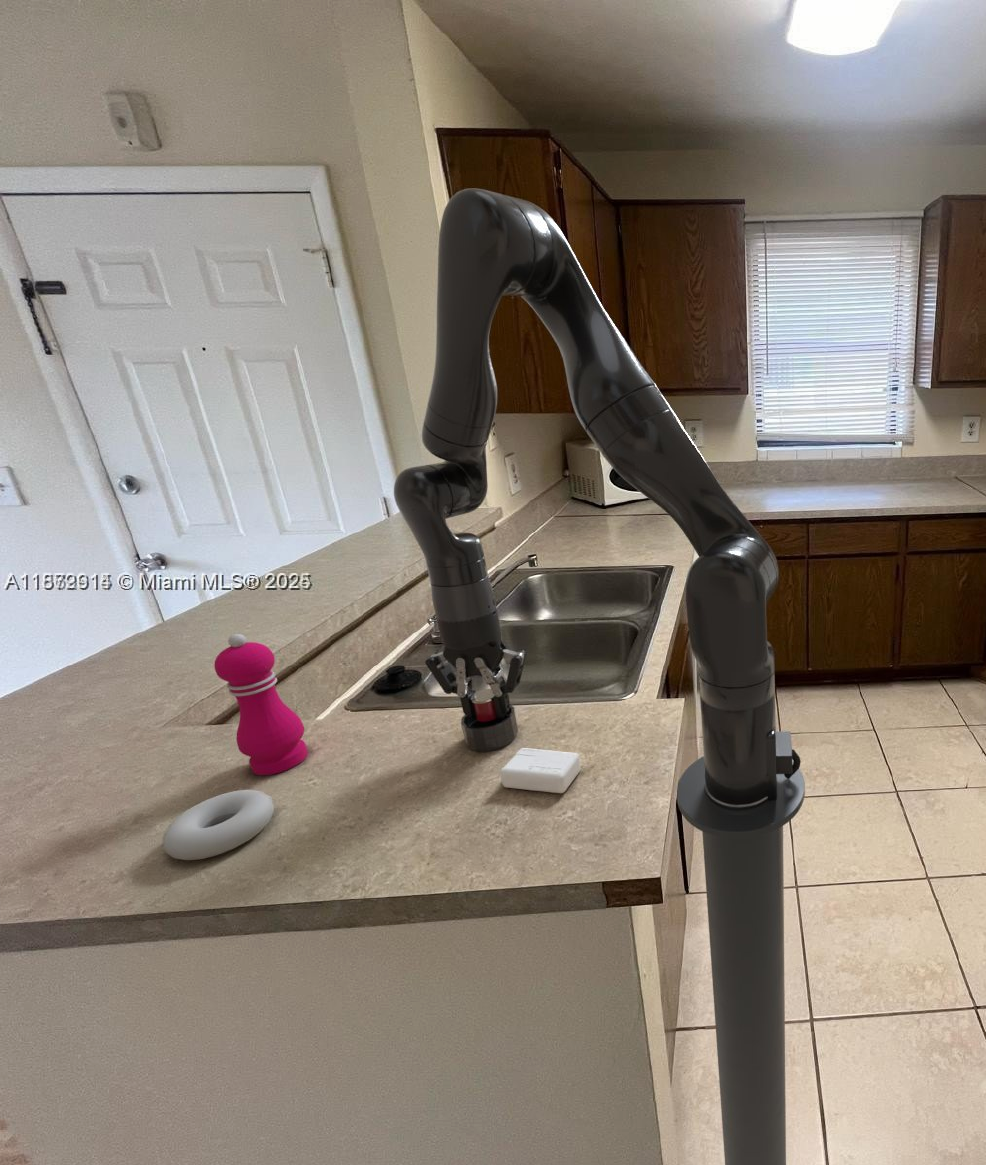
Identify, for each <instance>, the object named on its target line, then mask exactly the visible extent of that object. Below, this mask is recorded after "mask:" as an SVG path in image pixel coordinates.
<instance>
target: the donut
mask: <svg viewBox="0 0 986 1165" xmlns="http://www.w3.org/2000/svg"><path fill="white" fill-rule="evenodd" d="M274 813H275V804H274V800H273V798H272V797H271V796H270V795H268V794H267V793H266V792H263V791H261V790H256V789H255V790H254V789H239V790H234V791H229V792H225V793H222V794H219V795H216V796H214V797H211V798H207V799H206V800H204V801H201V802H200V803H197V804H195V805H193V806H192V807H190V808H189V809H187V810H185V811H184V812H182V813H181V814H180V815H179V816H177V817H176V818H175V819H174V820H173V821H172V822H171V823H170V824H169V825H168V827H167V828H166V830H165V832H164V833H163V835H162V849H163V851H164V852H165V853H166V854H168V855H169V856H170V857H171V858H173V859H175V860H183V861H197V860H205V859H207V858H211V857H216V856H219V855H222V854H224V853H226V852H229V851H232V850H234V849H236V848H237V847H240V846H242V845H243V844H245V843H246V842H249V841H250V840H251V839H253V838H254V837H255V836H257V835H258V834H260V832H262V830H264V828H265V827H266V826H267V825H268V824H269V823H270V822H271V819H272V817H273V815H274Z"/></svg>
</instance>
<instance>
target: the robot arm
mask: <svg viewBox="0 0 986 1165" xmlns="http://www.w3.org/2000/svg"><path fill="white" fill-rule="evenodd" d="M436 288H437V289H436V290H437V291H436V333H435V334H436V336H435V337H436V338H435V340H436V341H435V361H434V369H433V375H432V376H433V377H432V381H431V387H430V391H429V396H428V400H427V405H426V410H425V415H424V420H423V424H422V429H421V441H422V444H423V447H424V448H425V449H426V450H427V451H428V452H429V453H430V454H431V455H433V456H434V457H436V458H438V459H441V460H442V461H441V462H437V463H436V462H435V463H431V464H425V465H419V466H412V467H407V468H406V469H403V470H402V471H400V472H399V474H398V475H397V477H396V478H395V481H394V484H393V497H394V501H395V504H396V507H397V509H398V511H399V513H400V515H401V517H402V518H403V519H404V522H405V523H406V525H407V526H408V528H409V530H410V531H411V534H412V535H413V537H414V539H415V541H416V542H417V545H418V546H419V549H420V550H421V552H422V554H423V556H424V561H425V565H426V569H427V574H428V578H429V582H430V588H431V589H430V590H431V601H432V605H433V610H434V615H435V618H436V623H437V626H438V631H439V636H440V640H441V643H442V645H443V646H444V647H443V650H442V651H435V652H434V653H432V654H431V656H429V657H428V658H427V659H426V660H425V662H424V663H425V665H426V667H427V668H428V670H429V672H430V673H431V675H433V677H434V679H435V680H436V682H437V684H438V685H439V686H440V688H441V689H442V690H443V693H445V694H446V695H451V694H454V695H456V696H458V697H459V700H460V704H461V708H462V712H463V714H464V715H467V717H468V718H469V719H471V718H475V717H476V713H475V708H474V704H473V702H472V701H471V696H472V695H473V694H474V693H476V692H477V691H476V689H473V688H474V682H475V681H474V680H475V677H476V676H478V677H482V678H483V680H484V682H485V684H486V685H488V686H489V687H490V688H489V689H491V690H492V692H493V694H494V697H493V700H494V705H495V710H496V715H497V718H503V717H504V716H505V715H506V713H507V712H508V711H509V709H510V704H511V701H510V696H509V694H512V693H513V692H514V691H515V689H516V688H517V687H518V686H519V684H520V683H521V679H522V675H523V671H524V667H525V662H526V658H527V652H526V651H525V650H524V649H520V650H518V651H515V650H511V649H508V648H507V645H506V644H505V643H504V641H503V640H502V628H501V624H500V619H499V614H498V609H497V600H496V597H495V593H494V589H493V585H492V583H491V580H490V577H489V572H488V567H487V560H486V556H485V552H484V546H483V544H482V541H481V539H480V537H479V536H478V535H476V534H474V533H473V532H472V533H471V532H465V531H452V529H450V527H449V525H448V523H447V519H450V518H455V517H459V516H463V515H466V514H470V513H472V512H474V511H476V510H477V509H479V507H480V506H481V505H482V504H483V503H484V501H485V499H486V497H487V494H488V488H489V487H488V484H489V483H488V468H487V466H488V464H487V445H488V442H489V438H490V435H491V431H492V428H493V424H494V420H495V417H496V413H497V406H498V399H499V398H498V395H499V394H498V384H497V378H496V376H495V371H494V367H493V364H492V359H491V354H490V331H491V326H492V323H493V320H494V316H495V313H496V311H497V308H498V306H499V304H500V301H501V299H502V297H505V296H506V297H520V298H522V299H523V300H524V301H525V302H526V303H527V304H528V305H529V306H530V308H532V310H533V311H534V312H535V314H536V315H537V317H538V318H539V319H540V321H541V322H542V323H543V325H544V326H545V328H546V329H547V330H548V333H550V335H551V337H552V338H553V340H554V342H555V344H556V345H557V348H558V349H559V352H560V355H561V358H562V361H563V365H564V370H565V376H566V382H567V388H568V392H569V397H570V402H571V404H572V407H573V410H574V413H575V415H576V417H577V419H578V421H579V423H580V425H581V426H582V428H583V429H584V431H585V432H586V434H587V435H588V437H589V438H590V439H591V441H592V442H593V444H594V445H595V447H596V448H597V450H598V451H599V452H600V453H601V455H602V456H603V458H604V459H605V460H606V462H607V463H608V464H609V465H610V467H611V468H612V469H613V470H614V472H616V473H617V474H618V475H619V476H620V477H621V478H622V479H623V480H624V481H625V482H627V484H629V485H630V486H631V487H633V488H634V489H636V491H638V492H639V493H641V494H642V495H644V496H645V497H646V498H647V499H649V500H650V501H651V502H652V503H654V504H656V505H657V506H658V507H659V508H660V509H661V510H662V511H664V512H665V513H666V514H667V515H668V516H669V517H670V518H671V519H672V520H673V521H674V522H675V523H676V525H677V526H678V527H679V528H680V530H681V531H682V532H683V534H684V535H685V536H686V538H687V540H688V541H689V543H690V545H691V546H692V548H693V549H694V551H695V553H696V554H697V556H698V557H697V558H696V559H695V560H694V561H693V563H692V564H691V565H690V567H689V570H688V572H687V574H686V580H685V608H686V616H687V625H688V635H689V644H690V649H691V652H692V656H693V657H694V659H695V661H696V662H697V670H698V686H699V703H700V717H701V718H700V719H701V731H702V732H701V733H702V734H701V735H702V747H703V748H702V749H703V750H702V752H703V756H704V765H705V791H706V794H707V796H708V797H709V799H710V800H711V801H712V802H714V803H715V804H717V805H719V806H721V807H724V808H727V809H734V810H744V809H750V808H754V807H757V806H759V805H762V804H763V803H765V802H767V801H770V800H776V799H777V776H776V774H784V776H785V777H786V778H788V779H789V778H790V777H791V776H792V775H793V774H794V773H796V772H797V770H798V769H799V770H800V768H801V763H802V762H801V757H800V756H799V754H798V753H797V752H796V750H795V749H793V747H792V732H791V730H790V731H789V730H788V731H787V730H786V731H785V730H784V731H777V730H776V729H777V728H776V727H777V726H776V725H777V724H776V683H775V682H776V680H775V679H776V678H775V676H776V675H775V674H776V673H775V669H776V666H775V665H776V662H775V660H776V659H775V658H776V657H775V649H774V647H773V645H772V644H771V643H770V642H769V641H768V629H767V628H768V627H767V604H768V602H769V601H770V600H771V597H772V596H773V594H774V592H775V591H776V589H777V587H778V584H779V580H780V568H779V564H778V563H779V562H778V559H777V557H776V555H775V553H774V551H773V550H772V548H771V546H770V545H769V544H768V542H767V541H766V540H765V539H764V537H763V536H762V535H761V534H760V533H759V532H758V530H757V529H756V528H755V527H754V525H753V524H752V523H751V522H750V520H748V518H747V517H746V515H744V513H743V512H742V511H741V510H740V509H739V507H738V506H737V505H736V503H734V501H733V500H732V499H731V497H730V496H729V495H728V494H727V492H726V491H725V490H724V488H723V487H722V485H721V484H720V482H719V481H718V479H717V477H716V476H715V474H714V473H713V471H712V470H711V467H710V466H709V465H708V463H707V461H706V460H705V458H704V457H703V455H702V453H701V452H700V451H699V449H698V448H697V446H696V444H695V443H694V442H693V440H692V438H691V437H690V435H689V434H688V432H687V431H686V430H685V428H684V426H683V425H682V423H681V422H680V419H679V418H678V416H677V415H676V413H675V412H674V410H673V409H672V407H671V405H670V404H669V402H668V401H667V400H666V398H665V396H664V395H663V393H662V392H661V390H660V389H659V388H658V386H657V384H656V383H655V382H654V380H653V379H652V378H651V376H650V375H649V373H648V372H647V371H646V369H645V368H644V366H643V365H642V364H641V362H640V361H639V359H638V358H637V356H636V355H635V353H634V351H633V350H632V348H631V347H630V345H629V343H628V342H627V341H626V339H625V337H624V336H623V335H622V333H621V331H620V330H619V328H618V327H617V326H616V324H615V323H614V321H613V320H612V319H611V317H610V315H609V314H608V312H607V311H606V310H605V308H604V306H603V304H602V302H601V301H600V299H599V296H597V294H596V292H595V290H594V288H593V286H592V284H591V282H590V280H589V279H588V277H587V275H586V273H585V272H584V270H583V268H582V266H581V264H580V262H579V260H578V258H577V256H576V254H575V253H574V251H573V249H572V247H571V245H570V244H569V242H568V240H567V238H566V236H565V235H564V232H563V231H562V230H561V228H560V227H559V226H558V224H557V222H556V221H555V220H554V219H553V218H552V217H551V216H550V214H548V212H546V211H545V210H544V209H543V208H541V207H540V206H539V205H536V204H535V203H533V202H531V201H529V200H526V199H523V198H517V197H514V196H510V195H506V194H503V193H499V192H495V191H491V190H489V189H484V188H483V189H482V188H478V187H477V188H476V187H473V188H472V187H471V188H464V189H462V190H459V191H456V193H454V194H453V195H452V196H451V197H450V199H449V200H448V202H447V203H446V206H445V207H444V209H443V212H442V217H441V222H440V226H439V236H438V248H437V287H436ZM503 659H505V661H506V667H507V668H509V669H508V673H507V678H506V676H505V669H504V668H503V665H502V661H503ZM450 665H451V666H452V667H453V668H454V669H455V670H456V673H455V671H454V669H453V668H452V667H451V666H450ZM792 762H793V765H792Z"/></svg>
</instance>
